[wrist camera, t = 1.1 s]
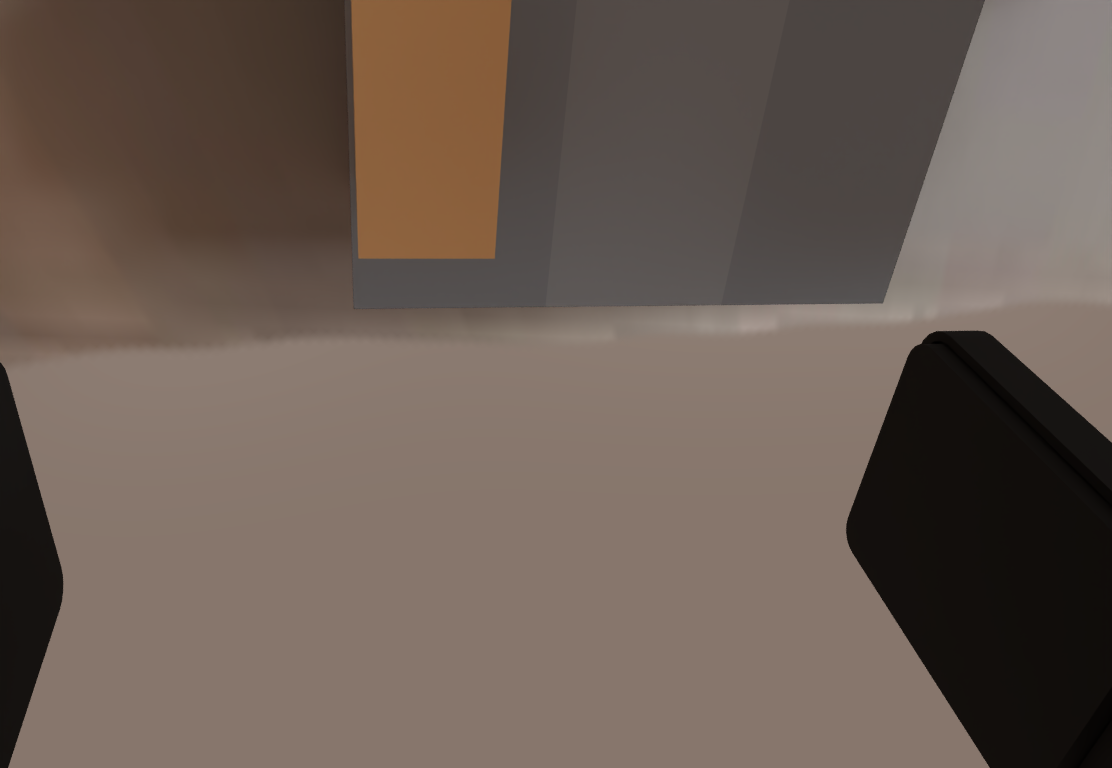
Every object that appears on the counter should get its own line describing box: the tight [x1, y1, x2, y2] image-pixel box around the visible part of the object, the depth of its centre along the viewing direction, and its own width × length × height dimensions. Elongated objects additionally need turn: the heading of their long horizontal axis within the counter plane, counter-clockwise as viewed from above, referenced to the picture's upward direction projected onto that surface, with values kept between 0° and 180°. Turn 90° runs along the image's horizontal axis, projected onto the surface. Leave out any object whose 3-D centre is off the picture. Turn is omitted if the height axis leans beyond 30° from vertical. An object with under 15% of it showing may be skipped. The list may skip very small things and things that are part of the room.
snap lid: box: [344, 0, 985, 309], centre depth 22 cm, size 16×14×6 cm
